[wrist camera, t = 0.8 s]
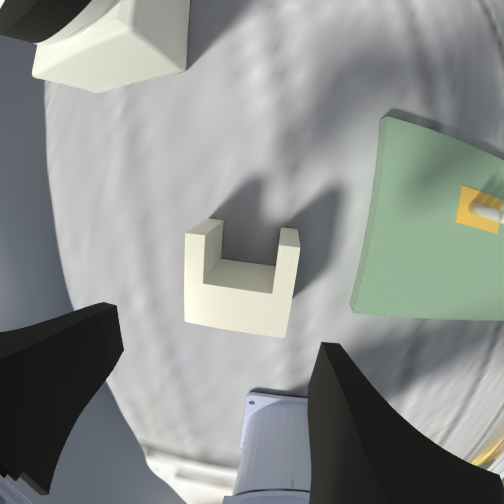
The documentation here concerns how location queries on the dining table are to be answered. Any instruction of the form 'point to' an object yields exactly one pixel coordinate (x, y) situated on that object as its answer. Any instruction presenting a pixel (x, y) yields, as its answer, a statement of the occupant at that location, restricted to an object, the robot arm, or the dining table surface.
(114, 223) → the dining table surface
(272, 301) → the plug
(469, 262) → the header board
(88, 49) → the medicine bottle
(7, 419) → the robot arm
